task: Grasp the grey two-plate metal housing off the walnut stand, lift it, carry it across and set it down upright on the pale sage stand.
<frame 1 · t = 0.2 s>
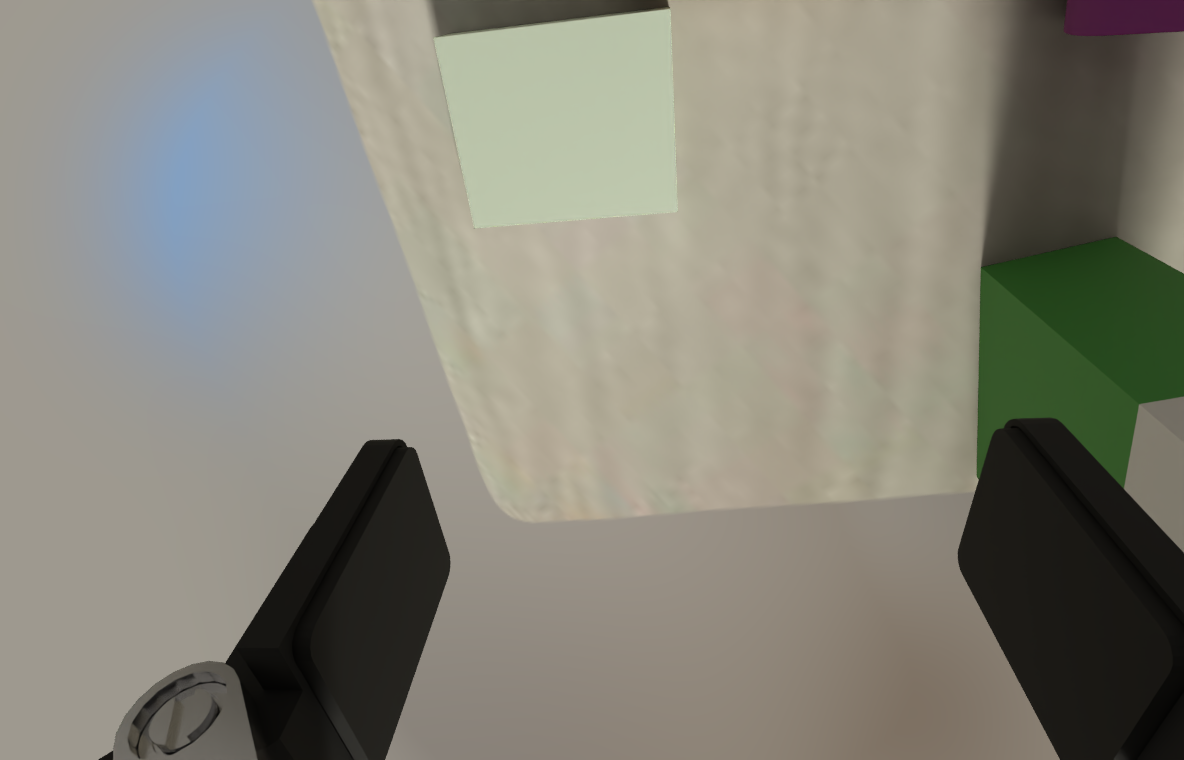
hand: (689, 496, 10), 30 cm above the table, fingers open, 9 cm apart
hardback book: (1036, 369, 42), on the table
stand B: (568, 119, 36), on the table
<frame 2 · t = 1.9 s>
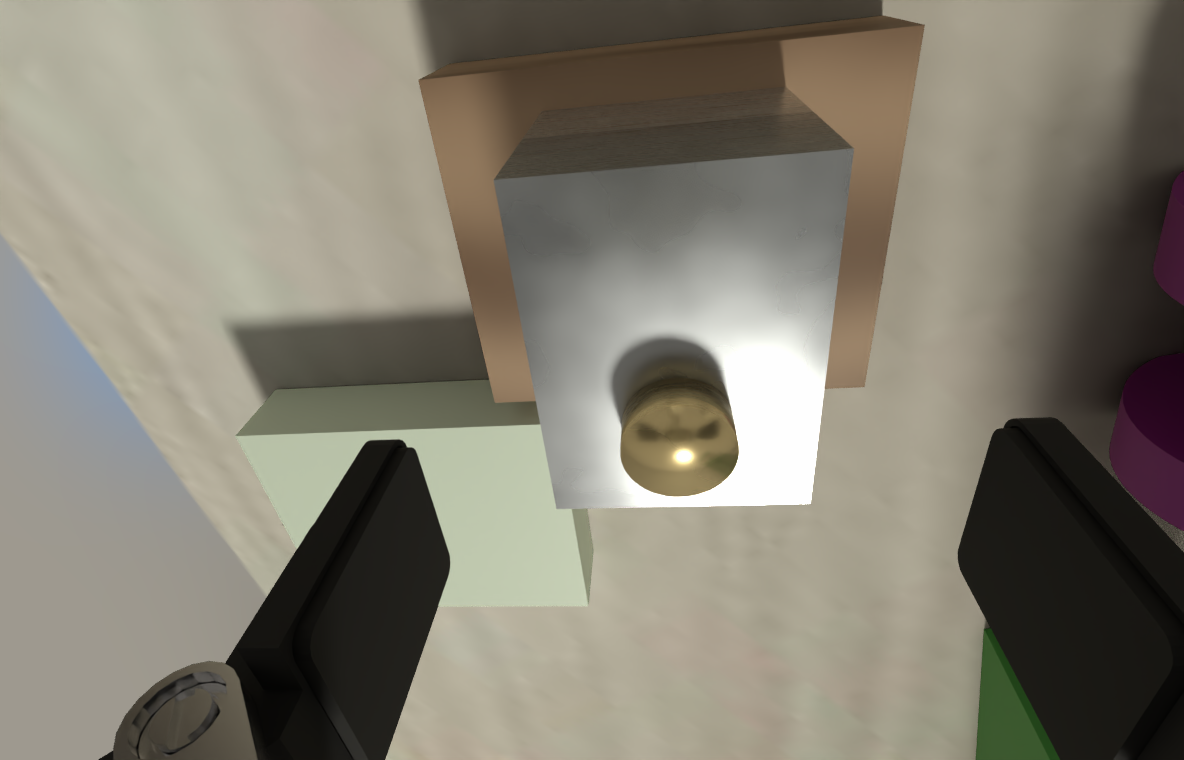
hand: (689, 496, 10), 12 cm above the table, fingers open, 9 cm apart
hardback book: (1049, 713, 34), on the table
stand A: (664, 215, 20), on the table
housing: (667, 251, 18), point 3 cm above the table, touching stand A
stand B: (446, 476, 27), on the table
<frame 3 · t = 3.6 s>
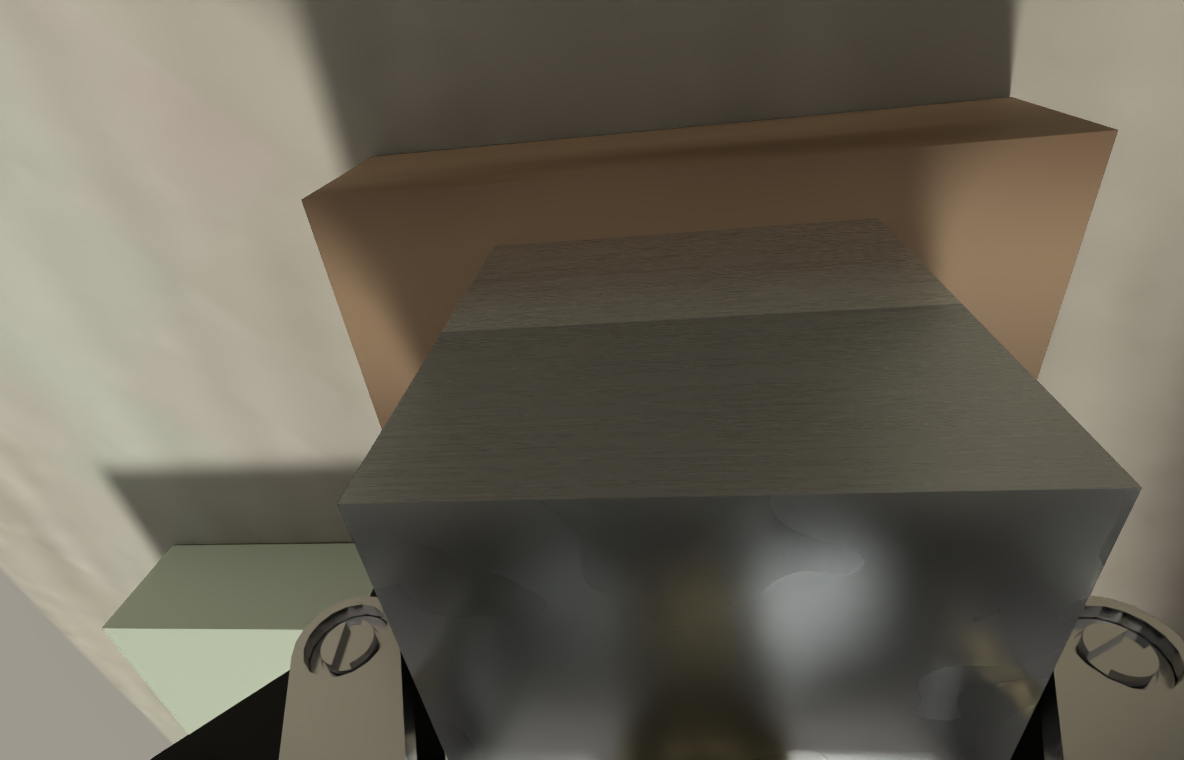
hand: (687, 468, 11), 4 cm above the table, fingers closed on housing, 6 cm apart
stand A: (679, 356, 14), on the table
housing: (684, 435, 12), point 3 cm above the table, touching gripper, stand A
stand B: (396, 645, 21), on the table
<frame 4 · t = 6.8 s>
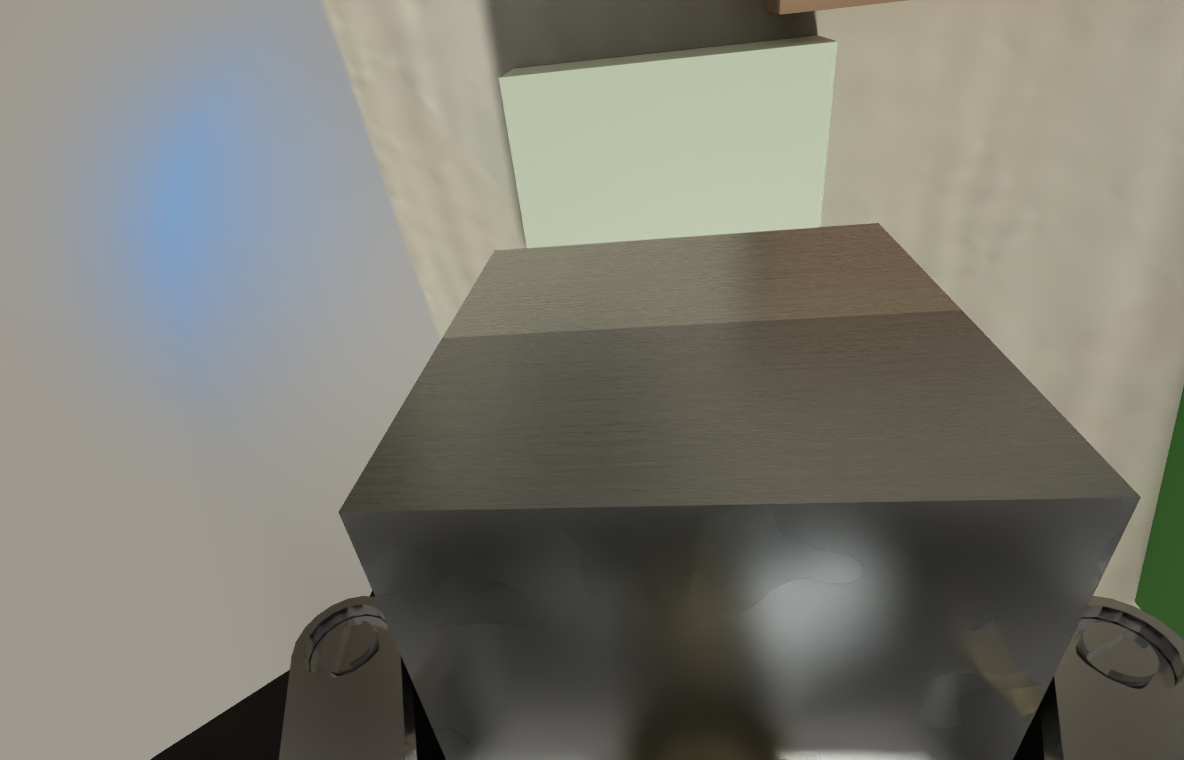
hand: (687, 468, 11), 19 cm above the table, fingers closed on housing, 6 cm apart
housing: (685, 438, 12), point 18 cm above the table, touching gripper
stand B: (666, 180, 27), on the table
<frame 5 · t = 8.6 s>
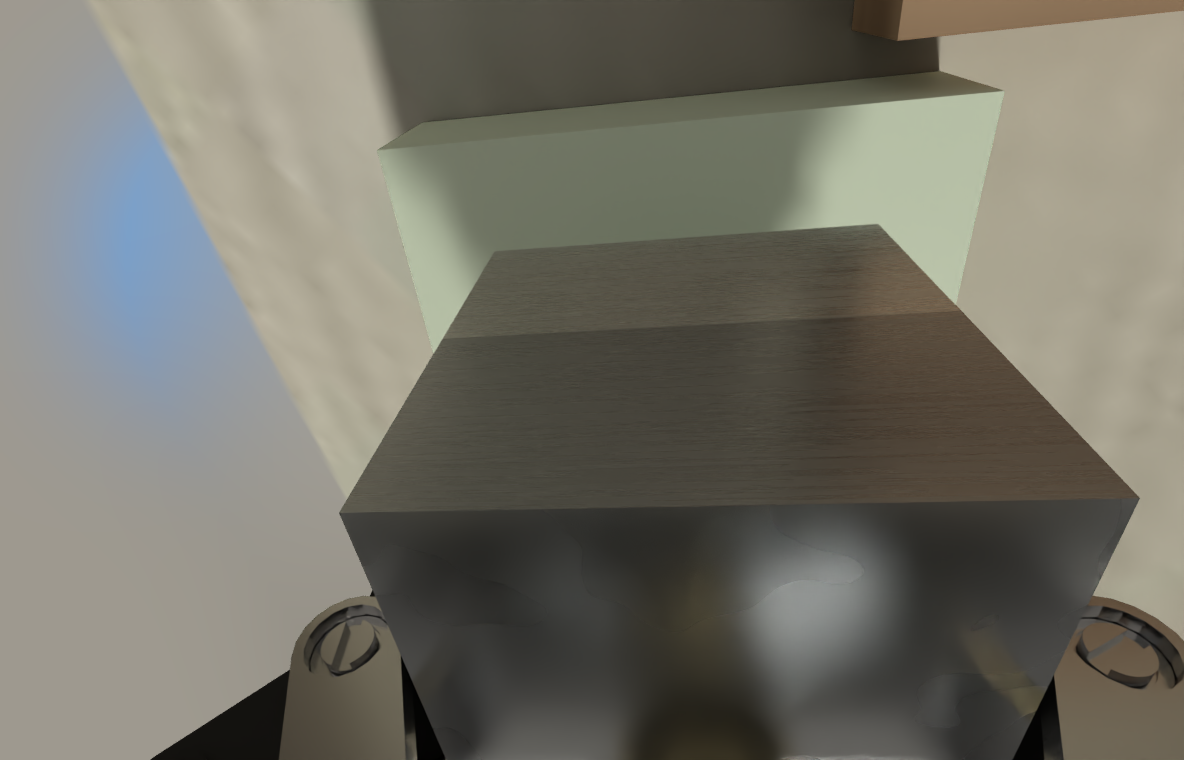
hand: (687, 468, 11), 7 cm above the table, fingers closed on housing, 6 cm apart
housing: (685, 439, 12), point 6 cm above the table, touching gripper
stand B: (674, 293, 17), on the table
when the fingers open (5 cm above the table, at t = 10.0 s): housing drops 1 cm, resting on stand B.
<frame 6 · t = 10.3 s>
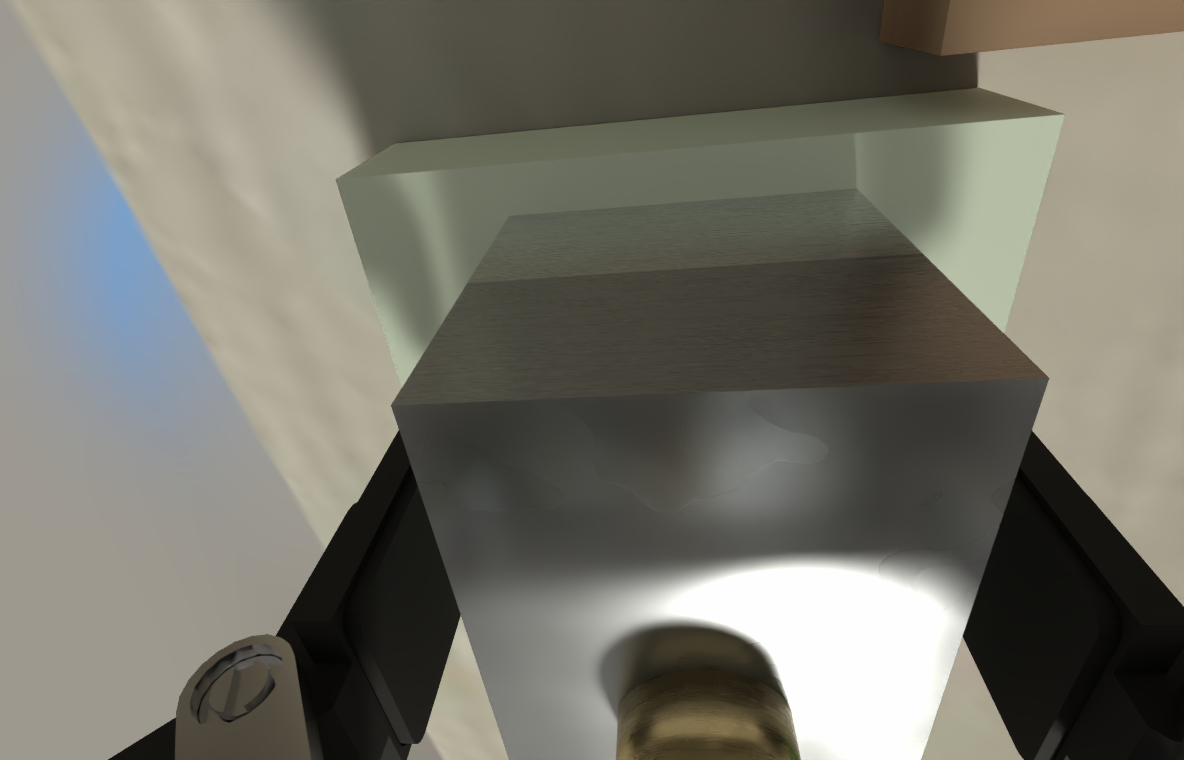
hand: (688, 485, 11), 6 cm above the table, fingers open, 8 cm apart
housing: (682, 393, 13), point 3 cm above the table, touching stand B
stand B: (677, 330, 15), on the table
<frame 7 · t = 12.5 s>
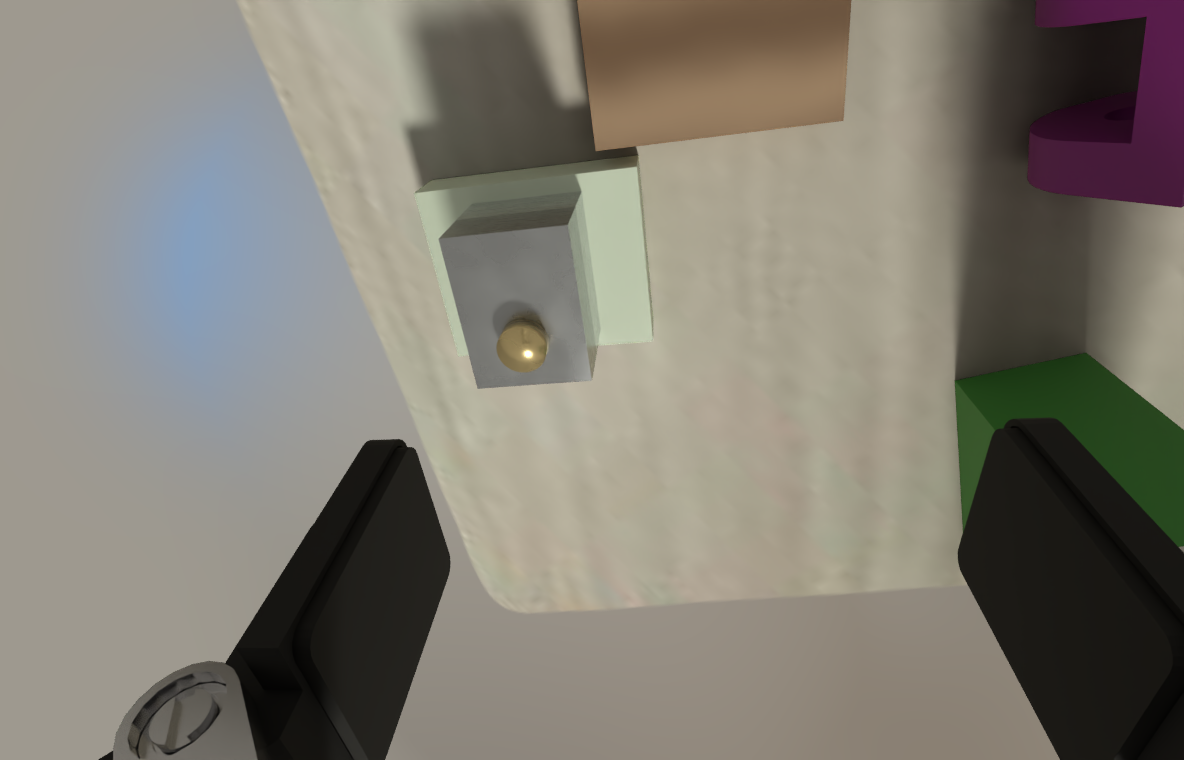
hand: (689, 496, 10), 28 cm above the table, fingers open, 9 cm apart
hardback book: (1017, 472, 43), on the table
stand A: (707, 19, 31), on the table
housing: (539, 268, 35), point 3 cm above the table, touching stand B
stand B: (547, 252, 37), on the table
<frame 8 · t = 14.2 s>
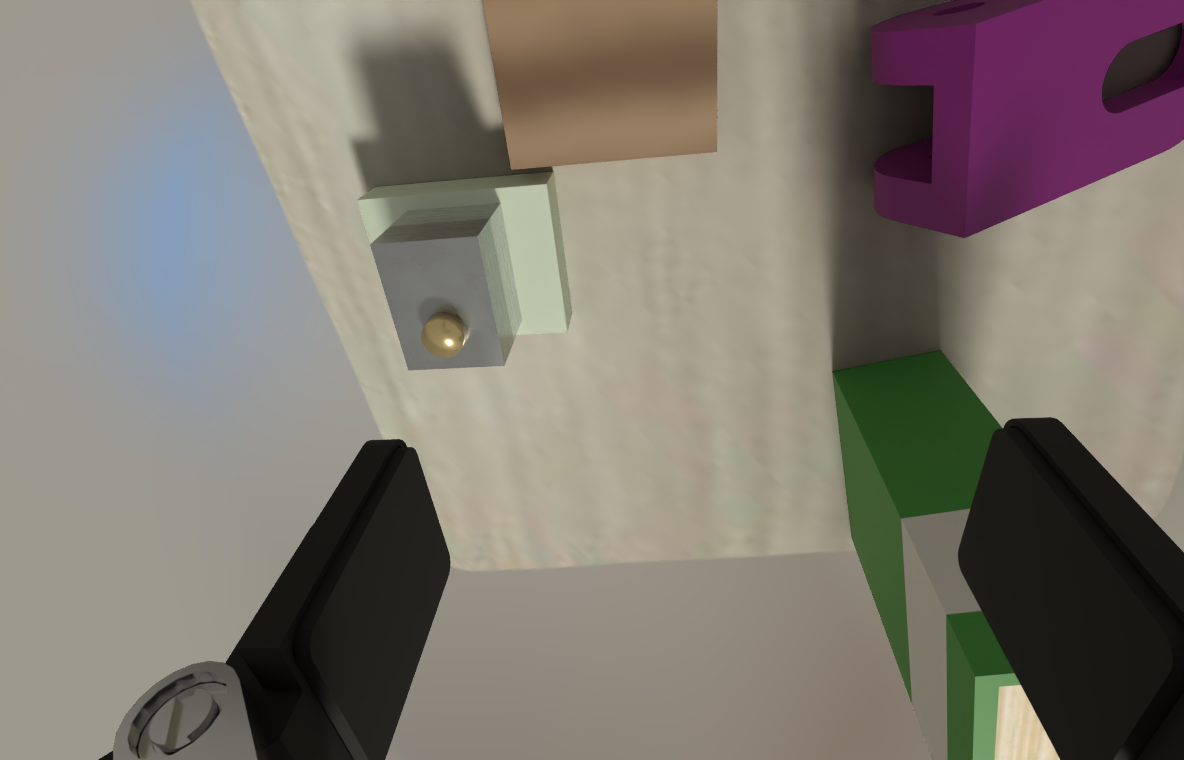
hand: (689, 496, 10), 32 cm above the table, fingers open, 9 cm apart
hardback book: (890, 452, 49), on the table
stand A: (607, 59, 36), on the table
housing: (467, 267, 40), point 3 cm above the table, touching stand B
stand B: (477, 252, 43), on the table
mounting bracket: (1027, 72, 35), on the table
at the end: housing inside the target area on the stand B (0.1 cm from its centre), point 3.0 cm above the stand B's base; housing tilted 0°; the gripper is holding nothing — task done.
